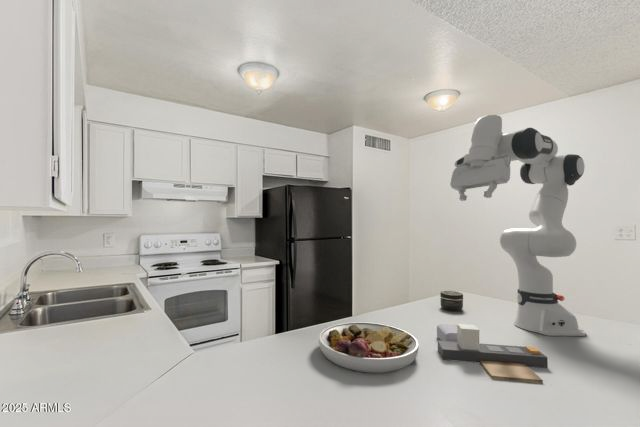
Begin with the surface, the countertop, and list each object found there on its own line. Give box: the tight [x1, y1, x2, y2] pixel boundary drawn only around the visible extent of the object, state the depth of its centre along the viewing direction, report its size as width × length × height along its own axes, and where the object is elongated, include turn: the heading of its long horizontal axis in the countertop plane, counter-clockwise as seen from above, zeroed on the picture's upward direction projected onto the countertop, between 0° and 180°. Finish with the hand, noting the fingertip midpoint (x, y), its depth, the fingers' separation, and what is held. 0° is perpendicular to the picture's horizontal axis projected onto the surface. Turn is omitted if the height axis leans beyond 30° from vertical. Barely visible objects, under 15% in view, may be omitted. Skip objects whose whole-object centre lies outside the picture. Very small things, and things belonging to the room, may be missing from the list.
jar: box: [439, 290, 464, 312], centre depth 147 cm, size 10×10×8 cm
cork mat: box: [479, 361, 544, 384], centre depth 84 cm, size 12×9×1 cm
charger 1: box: [436, 323, 457, 342], centre depth 108 cm, size 5×9×15 cm
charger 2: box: [456, 323, 480, 350], centre depth 94 cm, size 5×4×8 cm
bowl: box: [318, 321, 420, 374], centre depth 95 cm, size 30×30×8 cm
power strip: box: [437, 340, 548, 369], centre depth 93 cm, size 28×7×4 cm, turn 81°
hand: (474, 198), depth 102 cm, fingers open, 8 cm apart
